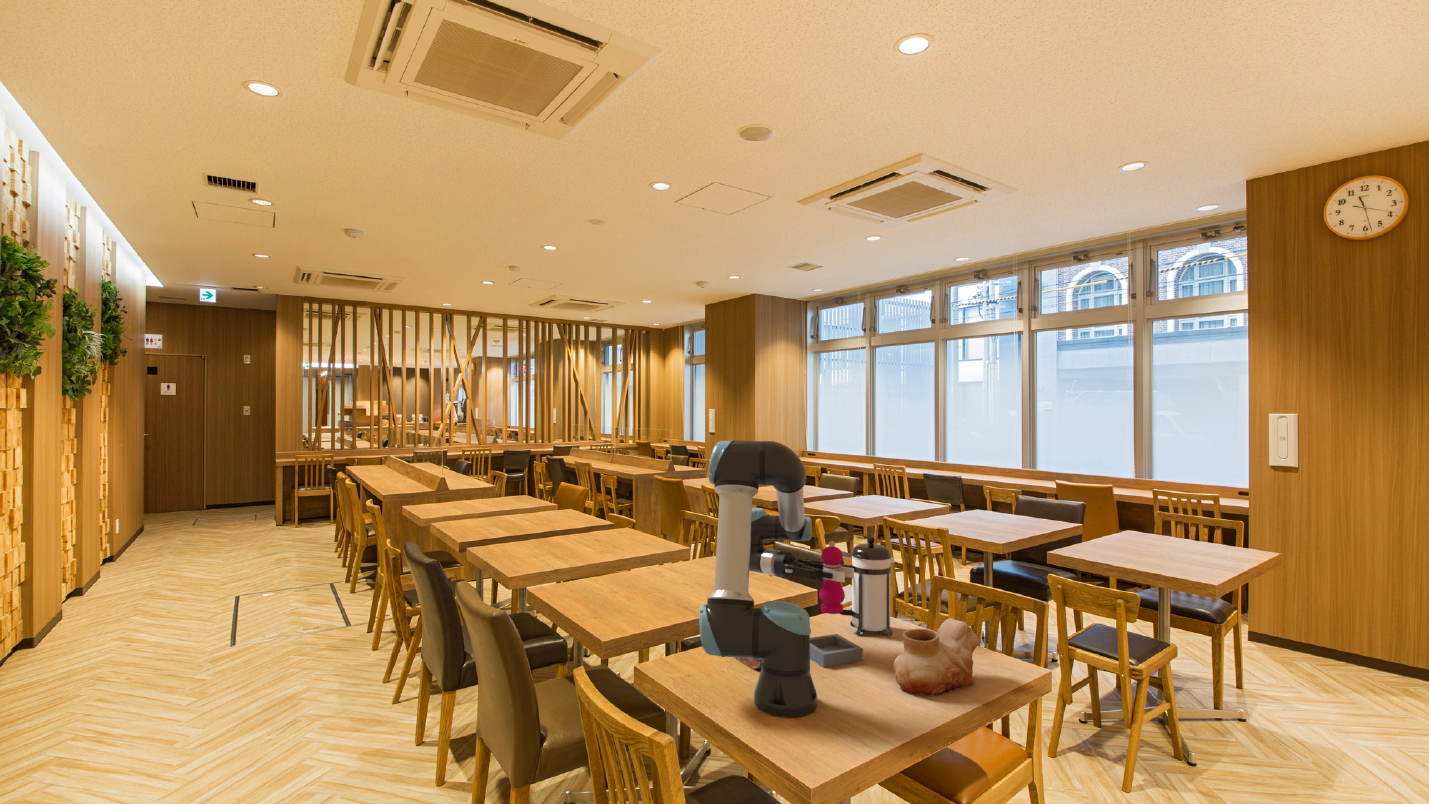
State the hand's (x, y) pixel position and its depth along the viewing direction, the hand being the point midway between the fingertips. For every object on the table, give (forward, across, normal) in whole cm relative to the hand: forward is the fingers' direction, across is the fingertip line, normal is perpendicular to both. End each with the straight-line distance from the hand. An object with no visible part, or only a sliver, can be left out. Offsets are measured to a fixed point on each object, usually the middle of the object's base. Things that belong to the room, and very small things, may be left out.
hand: (848, 575), depth 185 cm
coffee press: (-7, -27, -24) cm, 37 cm away
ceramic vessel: (+25, -1, -24) cm, 35 cm away
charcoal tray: (-6, 0, -24) cm, 25 cm away
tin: (-21, +19, -24) cm, 37 cm away
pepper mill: (-5, 0, -11) cm, 12 cm away
